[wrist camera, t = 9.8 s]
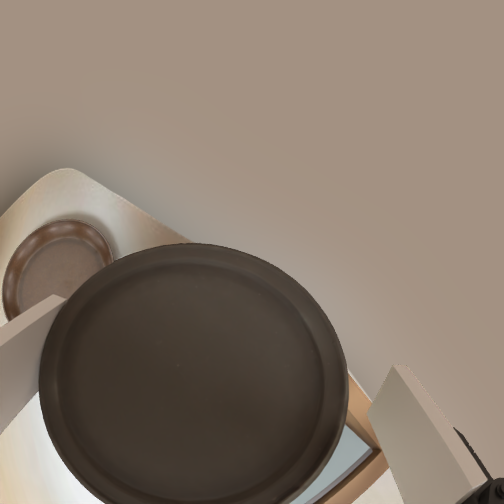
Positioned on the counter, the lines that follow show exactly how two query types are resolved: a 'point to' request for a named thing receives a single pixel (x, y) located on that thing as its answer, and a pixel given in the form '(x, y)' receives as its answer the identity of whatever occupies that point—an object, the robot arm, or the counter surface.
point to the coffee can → (193, 380)
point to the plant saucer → (53, 264)
